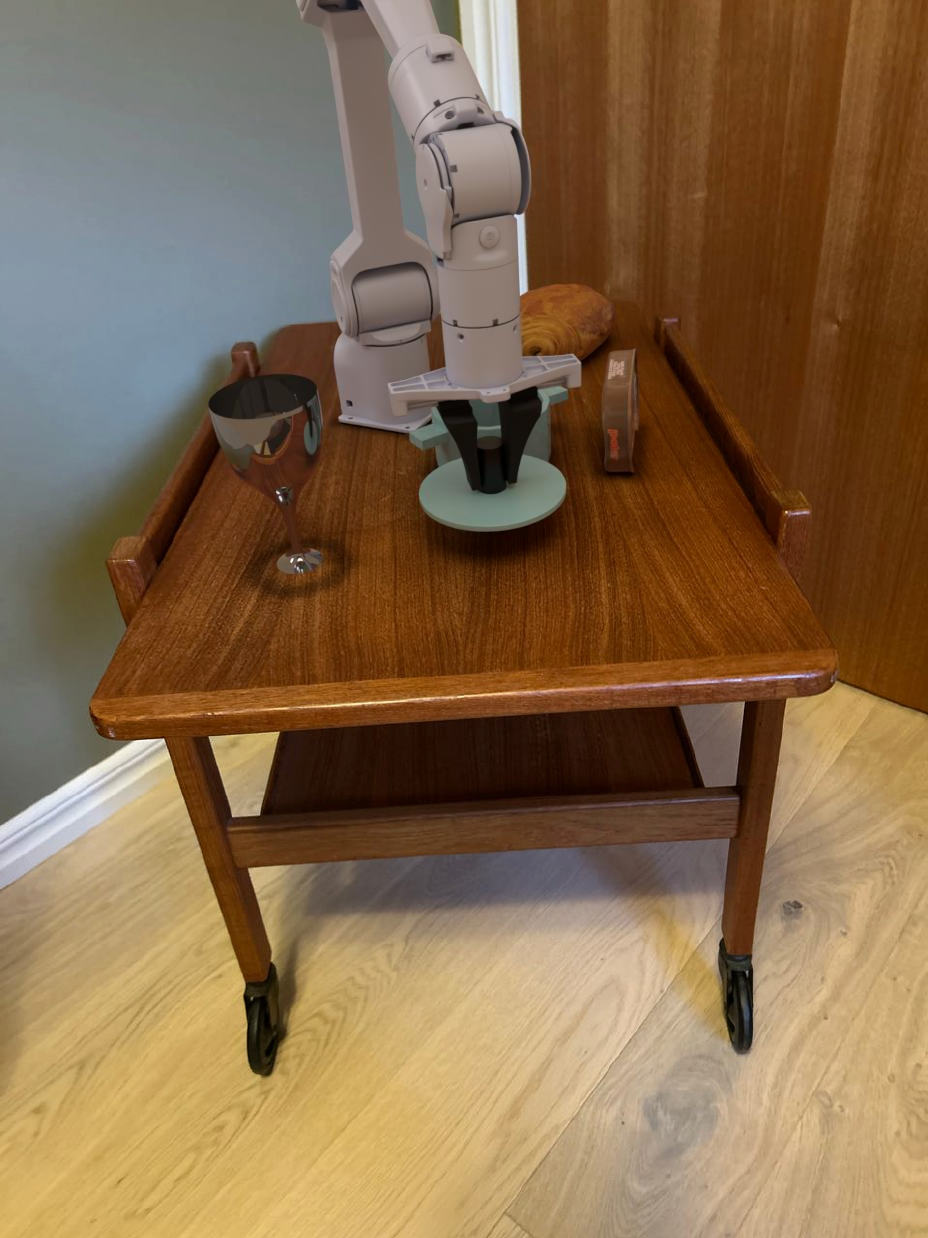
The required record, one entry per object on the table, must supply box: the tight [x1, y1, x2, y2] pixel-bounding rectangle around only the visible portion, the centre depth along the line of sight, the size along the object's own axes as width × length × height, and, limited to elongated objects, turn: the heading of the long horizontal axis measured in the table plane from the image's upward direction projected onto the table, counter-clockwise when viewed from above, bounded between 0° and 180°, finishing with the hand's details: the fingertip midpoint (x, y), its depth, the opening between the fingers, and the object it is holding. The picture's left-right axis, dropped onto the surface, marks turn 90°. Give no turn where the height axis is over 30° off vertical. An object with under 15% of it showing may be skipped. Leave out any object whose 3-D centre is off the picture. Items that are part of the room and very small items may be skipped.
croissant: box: [520, 283, 617, 362], centre depth 107 cm, size 14×16×8 cm
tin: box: [600, 348, 640, 474], centre depth 85 cm, size 15×3×8 cm, turn 168°
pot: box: [408, 386, 569, 468], centre depth 86 cm, size 11×16×6 cm
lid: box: [418, 436, 567, 533], centre depth 73 cm, size 12×12×5 cm
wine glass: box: [207, 373, 324, 575], centre depth 71 cm, size 8×8×15 cm
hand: (491, 481), depth 74 cm, fingers closed on lid, 2 cm apart
